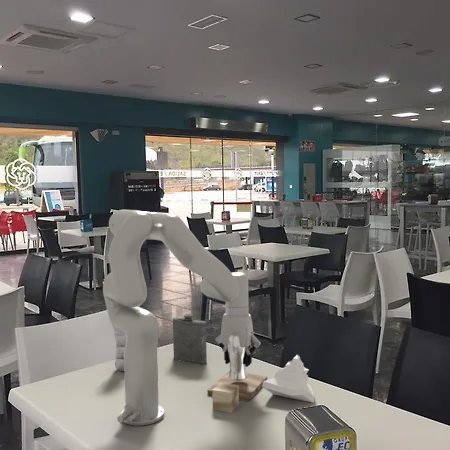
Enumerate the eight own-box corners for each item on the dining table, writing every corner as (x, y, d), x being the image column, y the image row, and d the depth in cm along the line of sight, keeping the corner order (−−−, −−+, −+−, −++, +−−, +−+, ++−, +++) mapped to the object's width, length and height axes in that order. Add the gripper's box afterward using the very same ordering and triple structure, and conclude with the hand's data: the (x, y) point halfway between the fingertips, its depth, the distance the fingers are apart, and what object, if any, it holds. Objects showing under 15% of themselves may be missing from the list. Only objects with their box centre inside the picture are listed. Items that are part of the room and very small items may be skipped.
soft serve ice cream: (276, 391, 171) (284, 348, 172) (319, 404, 163) (327, 359, 165) (260, 395, 160) (268, 349, 162) (306, 409, 153) (314, 361, 154)
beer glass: (249, 381, 167) (248, 335, 166) (227, 381, 167) (226, 336, 166) (248, 373, 174) (247, 329, 173) (227, 373, 174) (227, 329, 173)
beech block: (231, 412, 152) (230, 392, 152) (212, 409, 155) (212, 389, 154) (238, 404, 158) (238, 385, 157) (220, 401, 160) (220, 382, 160)
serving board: (248, 401, 160) (248, 396, 160) (207, 394, 165) (207, 389, 165) (267, 380, 176) (267, 376, 176) (229, 375, 182) (229, 370, 182)
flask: (203, 365, 192) (202, 317, 191) (171, 359, 199) (169, 313, 197) (208, 362, 195) (207, 315, 194) (176, 356, 202) (175, 311, 201)
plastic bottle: (111, 372, 186) (109, 317, 185) (120, 365, 193) (118, 313, 191) (127, 373, 184) (125, 318, 183) (136, 367, 191) (134, 314, 189)
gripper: (208, 311, 169) (209, 364, 170) (258, 315, 162) (258, 371, 163) (217, 305, 176) (218, 357, 177) (266, 310, 169) (266, 363, 170)
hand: (238, 363), depth 170 cm, fingers closed on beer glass, 6 cm apart
